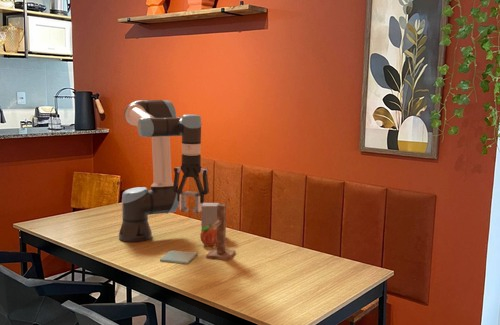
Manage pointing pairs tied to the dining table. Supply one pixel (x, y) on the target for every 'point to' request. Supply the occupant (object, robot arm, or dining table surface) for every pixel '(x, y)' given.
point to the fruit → (208, 236)
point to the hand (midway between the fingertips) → (190, 209)
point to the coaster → (178, 257)
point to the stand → (220, 236)
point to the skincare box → (208, 214)
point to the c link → (184, 201)
